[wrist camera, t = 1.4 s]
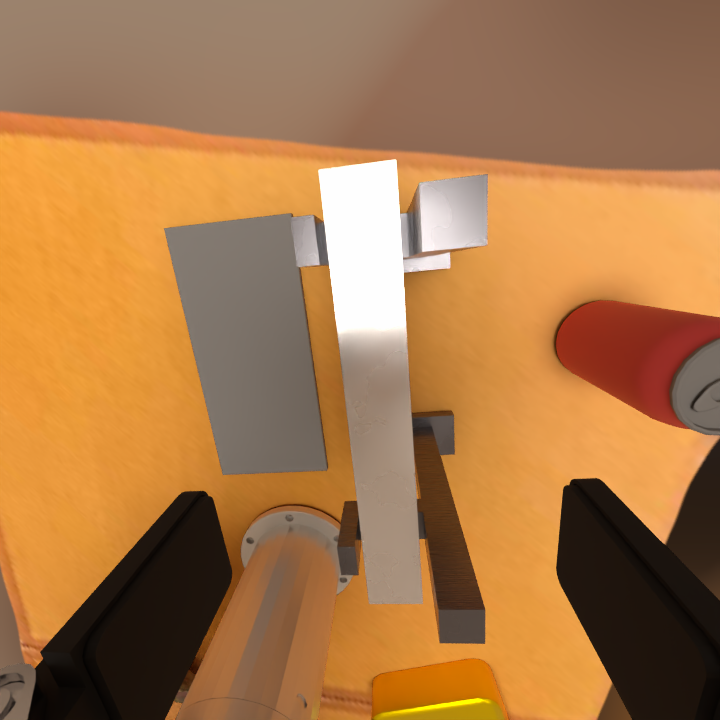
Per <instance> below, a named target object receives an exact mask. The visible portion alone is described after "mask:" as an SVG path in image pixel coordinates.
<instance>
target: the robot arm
mask: <svg viewBox="0 0 720 720" xmlns="http://www.w3.org/2000/svg"><path fill="white" fill-rule="evenodd" d="M340 526H341V525H340V523H338V522H337V521H336V520H334V519H333V518H332V517H330V516H328V515H327V514H325V513H323V512H321V511H318V510H315V509H312V508H308V507H303V506H283V507H277V508H274V509H271V510H269V511H266V512H265V513H263V514H261V515H260V516H258V517H257V518H256V519H255V520H254V521H253V522H252V523H251V525H250V526H249V528H248V529H247V531H246V533H245V535H244V537H243V540H242V545H241V559H242V563H243V566H244V568H245V570H244V572H243V574H242V576H241V578H240V581H239V583H238V585H237V587H236V589H235V591H234V593H233V596H232V598H231V600H230V602H229V604H228V606H227V609H226V611H225V613H224V615H223V617H222V619H221V622H220V624H219V626H218V628H217V630H216V632H215V634H214V637H213V639H212V641H211V643H210V645H209V647H208V650H207V652H206V654H205V656H204V658H203V660H202V663H201V665H200V667H199V669H198V671H197V673H196V676H195V678H194V680H193V682H192V684H191V686H190V688H189V691H188V693H187V695H186V698H185V699H184V701H183V704H182V706H181V708H180V710H179V712H178V715H177V717H176V719H175V720H318V716H319V709H320V702H321V696H322V689H323V682H324V675H325V669H326V662H327V655H328V648H329V641H330V635H331V628H332V621H333V614H334V608H335V601H336V595H338V594H339V593H340V592H342V591H343V590H344V589H345V588H346V587H347V585H348V584H349V583H350V581H351V579H352V577H353V575H341V572H340V565H339V558H338V551H337V544H338V538H339V532H340ZM556 570H557V576H558V579H559V582H560V585H561V587H562V589H563V590H564V592H565V594H566V596H567V598H568V600H569V602H570V604H571V605H572V607H573V609H574V611H575V613H576V615H577V617H578V619H579V620H580V622H581V624H582V626H583V628H584V630H585V632H586V634H587V635H588V637H589V639H590V641H591V643H592V645H593V647H594V649H595V650H596V652H597V654H598V656H599V658H600V660H601V662H602V664H603V665H604V667H605V669H606V671H607V673H608V675H609V677H610V679H611V680H612V682H613V684H614V686H615V688H616V690H617V692H618V694H619V695H620V697H621V699H622V701H623V703H624V705H625V707H626V709H627V711H628V712H629V714H630V716H631V718H632V720H720V601H719V600H718V598H717V597H716V596H714V594H713V593H712V592H711V591H710V590H709V589H708V588H707V587H706V586H705V585H704V584H703V583H702V582H701V581H700V580H699V579H698V578H697V577H696V576H695V575H694V574H693V573H692V572H691V571H690V570H689V569H688V568H687V567H686V566H685V565H684V564H683V563H682V562H681V561H680V559H679V558H678V557H677V556H676V555H675V554H674V553H673V552H672V551H671V550H670V549H669V548H668V547H667V546H666V545H665V544H663V543H662V542H661V541H660V540H659V539H658V538H657V537H656V536H655V535H654V534H653V533H652V532H651V531H650V530H649V529H648V528H647V527H646V526H645V525H644V524H643V522H642V521H641V520H640V519H639V518H638V517H637V516H636V515H635V514H634V513H633V512H632V511H631V510H630V509H629V508H628V507H627V506H626V505H625V504H624V503H623V502H622V501H621V500H620V499H619V498H618V497H617V496H616V495H615V494H614V493H613V492H612V491H611V490H610V489H609V487H608V486H607V485H606V484H605V483H604V482H603V481H601V480H600V479H597V478H592V479H573V480H571V482H570V485H566V486H565V487H564V489H563V498H562V509H561V520H560V532H559V543H558V554H557V566H556ZM231 579H232V568H231V565H230V561H229V557H228V553H227V550H226V546H225V542H224V538H223V534H222V531H221V527H220V523H219V519H218V516H217V512H216V508H215V504H214V501H213V498H212V497H210V496H208V494H207V493H206V492H205V491H188V492H182V493H181V494H180V495H179V496H178V497H177V498H176V499H175V500H174V501H173V503H172V504H171V505H170V506H169V507H168V508H167V509H166V510H165V512H164V513H163V514H162V515H161V516H160V517H159V518H158V520H157V521H156V522H155V523H154V524H153V525H152V526H151V527H150V529H149V530H148V531H147V532H146V533H145V534H144V535H143V537H142V538H141V539H140V540H139V541H138V542H137V543H136V544H135V546H134V547H133V548H132V549H131V550H130V551H129V552H128V553H127V555H126V556H125V557H124V558H123V559H122V560H121V561H120V563H119V564H118V565H117V566H116V567H115V568H114V569H113V570H112V572H111V573H110V574H109V575H108V576H107V577H106V578H105V580H104V581H103V582H102V583H101V584H100V585H99V586H98V587H97V589H96V590H95V591H94V592H93V593H92V594H91V595H90V596H89V598H88V599H87V600H86V601H85V602H84V603H83V604H82V606H81V607H80V608H79V609H78V610H77V611H76V612H75V613H74V615H73V616H72V617H71V618H70V619H69V620H68V621H67V622H66V624H65V625H64V626H63V627H62V628H61V629H60V630H59V632H58V633H57V634H56V635H55V636H54V637H53V638H52V639H51V641H50V642H49V643H48V644H47V645H46V646H45V647H44V649H43V650H42V651H41V652H40V653H41V655H42V657H43V658H44V659H43V660H42V661H41V662H40V663H39V664H38V666H37V667H36V668H35V669H34V668H33V667H32V666H31V664H25V663H18V664H14V665H9V666H6V667H4V668H2V669H0V720H165V718H166V716H167V714H168V712H169V710H170V708H171V706H172V703H173V701H174V699H175V697H176V695H177V693H178V691H179V689H180V687H181V685H182V683H183V681H184V679H185V677H186V675H187V672H188V670H189V668H190V666H191V664H192V662H193V660H194V658H195V656H196V654H197V652H198V650H199V648H200V646H201V644H202V641H203V639H204V637H205V635H206V633H207V631H208V629H209V627H210V625H211V623H212V621H213V619H214V617H215V615H216V613H217V610H218V608H219V606H220V604H221V602H222V600H223V598H224V596H225V594H226V592H227V590H228V588H229V585H230V583H231Z"/></svg>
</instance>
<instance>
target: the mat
mask: <svg viewBox="0 0 720 720" xmlns="http://www.w3.org/2000/svg"><path fill="white" fill-rule="evenodd" d="M291 217H293V214H291V213H290V214H282V215H273V216H265V217H256V218H248V219H239V220H231V221H223V222H214V223H206V224H197V225H189V226H181V227H172V228H164V230H165V234H166V238H167V243H168V247H169V251H170V255H171V259H172V264H173V268H174V272H175V276H176V280H177V285H178V289H179V293H180V297H181V301H182V306H183V310H184V314H185V318H186V322H187V326H188V331H189V335H190V339H191V343H192V347H193V352H194V356H195V360H196V364H197V368H198V373H199V377H200V381H201V385H202V389H203V394H204V398H205V402H206V406H207V410H208V415H209V419H210V423H211V427H212V431H213V436H214V440H215V444H216V448H217V452H218V457H219V461H220V465H221V469H222V473H223V475H230V474H254V473H278V472H302V471H325V470H327V469H328V464H327V457H326V450H325V443H324V436H323V429H322V422H321V414H320V407H319V400H318V393H317V386H316V379H315V372H314V364H313V357H312V350H311V343H310V336H309V329H308V322H307V314H306V307H305V300H304V293H303V286H302V279H301V272H300V267H297V263H296V255H295V248H294V241H293V234H292V227H291V220H290V218H291Z"/></svg>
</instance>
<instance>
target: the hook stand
mask: <svg viewBox="0 0 720 720" xmlns="http://www.w3.org/2000/svg"><path fill="white" fill-rule="evenodd" d="M487 194H488V174H485V175H477V176H469V177H460V178H452V179H444V180H436V181H428V182H420V183H419V185H418V187H417V190H416V192H415V194H414V197H413V199H412V202H411V204H410V206H409V209H408V211H407V213H401V214H400V231H401V248H402V264H403V273H404V272H414V271H425V270H435V269H445V268H450V252H455V251H460V250H465V249H471V248H476V247H481V246H486V245H487ZM290 220H291V227H292V234H293V241H294V248H295V255H296V263H297V267H317V266H327V265H329V256H328V248H327V239H326V231H325V222H323V221H322V220H320V219H319V218H317V217H316V216H314V215H308V216H299V217H291V218H290ZM411 414H412V431H413V447H414V464H415V476H416V483H417V490H418V496H419V499H417V514H418V530H419V539H425V545H426V552H427V559H428V565H429V572H430V579H431V586H432V593H433V600H434V607H435V614H436V621H437V627H438V634H439V641H440V643H477V644H485V607H484V604H483V600H482V597H481V593H480V590H479V587H478V583H477V580H476V576H475V573H474V569H473V566H472V563H471V559H470V556H469V552H468V549H467V545H466V542H465V539H464V535H463V532H462V528H461V525H460V521H459V518H458V514H457V511H456V508H455V504H454V501H453V497H452V494H451V490H450V487H449V484H448V480H447V477H446V473H445V470H444V466H443V463H442V460H441V456H440V455H449V454H455V449H454V415H453V413H452V411H440V412H422V413H411ZM361 540H362V539H361V530H360V522H359V513H358V505H357V501H345V503H344V509H343V514H342V520H341V526H340V532H339V538H338V544H337V551H338V558H339V565H340V572H341V575H358V574H359V562H360V550H361Z"/></svg>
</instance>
